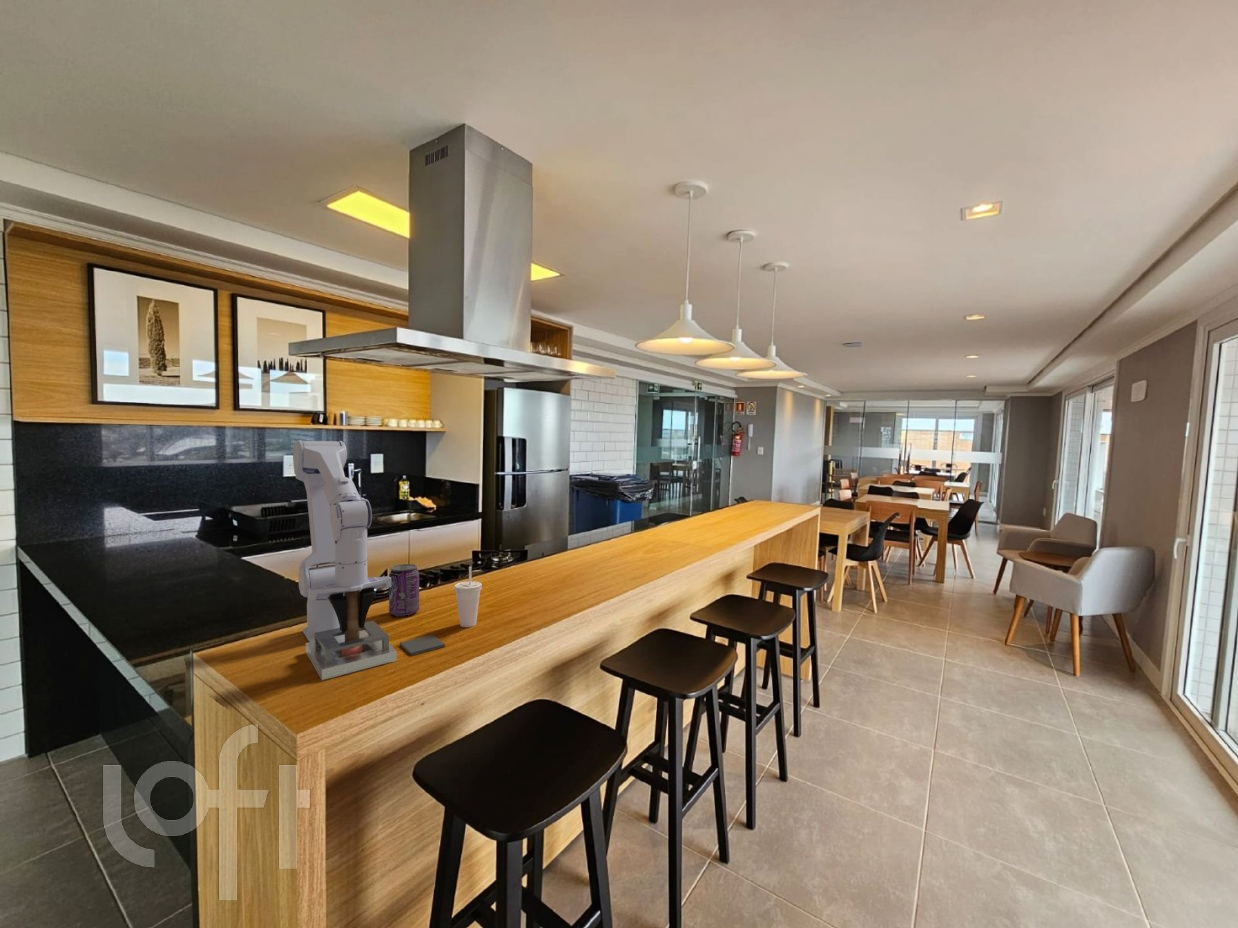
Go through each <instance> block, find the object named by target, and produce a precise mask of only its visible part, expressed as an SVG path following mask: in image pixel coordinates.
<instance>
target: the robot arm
mask: <svg viewBox="0 0 1238 928" xmlns="http://www.w3.org/2000/svg"><path fill="white" fill-rule="evenodd" d="M347 455H348V453H347V447H346V444H345V442H343V441H342V440H338V441H335V440H333V441H331V440H330V441H328V440H327V441H326V440H325V441H324V440H301V439H298V440H296V442H294V444H293V448H292V460H293V461H292V462H293V472H294V473H293V474H295V479H296V480H299V481H301V482H303V484H304V487H305V491H306V499H307V509H308V510H307V511H308V519H309V520H308V521H309V531H310V543H311V553H310V554H309V555H308V556H307V557H306V558H304V559H303V560H301V562H300V564H299V565H298V589H299V593H300V595H301V596H303V597H304V598H307V601H306V627H303V628H301V629H302V630H301V631H302V633H303V634H304V636H305V638H307V641H308V643H309V642H313V641H315V633H317V632H321V631H326V630H331V629H336V628H340V630H341V631H342V632H345V631H346V628H347V626H346V604H347V600H346V599H345V596H344V594H345V593H346V592H352V591H358V590H359V627H360V628H364V624H365V622H366V619H367V615H368V612H369V610H370V608H371V605H372V604H373V601H374V600H375V597H376V591H375V590H376V589H382V588H388V589H389V587H391V577H389V575H387V576H378V577H368V573H369V572H368V529H370V527H371V524H372V520H373V513H372V512H373V511H372V506H371V504H370V501H369V500H368V499H366V498H364V497H361V496H360V494H359V492H358V490H357V488H356V485H355V482H354V481H353V480H352V479H351V478H349V477H346V476H345V471H344V467H345V465H346V463H347V458H348V457H347ZM344 635H345V634H344ZM340 636H341V635H340ZM335 637H336V636H335Z"/></svg>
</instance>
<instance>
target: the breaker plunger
mask: <svg viewBox="0 0 1238 928" xmlns="http://www.w3.org/2000/svg"><path fill="white" fill-rule="evenodd" d="M362 652H363V651H362V645H359V646H357V647H354V648H346V649H342V656H341V658H342V657H346V656H350V655H354V654H358V653H362Z"/></svg>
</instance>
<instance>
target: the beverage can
mask: <svg viewBox="0 0 1238 928" xmlns="http://www.w3.org/2000/svg"><path fill="white" fill-rule="evenodd" d="M388 576H389V577H391V587H388V601H389V602H388V612H389V615H393V616H395V617H406V616H405V615H408V616H411V614H412V615H414V614H415V613H416V612H418V611H419V610H420V571H419V570H418V565H417V564H415V563H413V564H412V563H403V564H397V565H393V566H391V567H390V572H389V574H388ZM413 613H414V614H413Z"/></svg>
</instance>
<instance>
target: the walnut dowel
mask: <svg viewBox="0 0 1238 928" xmlns="http://www.w3.org/2000/svg"><path fill="white" fill-rule="evenodd" d="M344 596H345V599H346V600H347V604H346V626H347V628H346V631H345V642H347V641H351V640H355V639H360V634H359V590H358V591H352V592H346V593H345V594H344ZM355 647H357V646H355ZM350 648H354V647H350Z"/></svg>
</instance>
